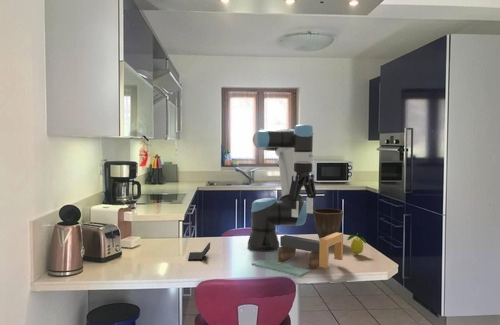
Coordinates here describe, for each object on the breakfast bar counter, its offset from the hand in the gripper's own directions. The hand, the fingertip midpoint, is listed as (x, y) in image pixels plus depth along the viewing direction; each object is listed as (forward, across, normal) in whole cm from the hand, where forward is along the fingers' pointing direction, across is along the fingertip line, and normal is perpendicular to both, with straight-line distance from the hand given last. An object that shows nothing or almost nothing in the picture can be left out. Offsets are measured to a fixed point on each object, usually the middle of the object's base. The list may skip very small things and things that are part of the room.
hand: (302, 215), depth 166 cm
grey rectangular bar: (+14, 0, 0) cm, 14 cm away
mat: (+20, -12, +3) cm, 24 cm away
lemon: (+20, +26, -13) cm, 35 cm away
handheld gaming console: (+21, -21, +39) cm, 49 cm away
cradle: (+20, 0, 0) cm, 20 cm away
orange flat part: (+18, 0, -13) cm, 22 cm away
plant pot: (+20, +39, +8) cm, 45 cm away
